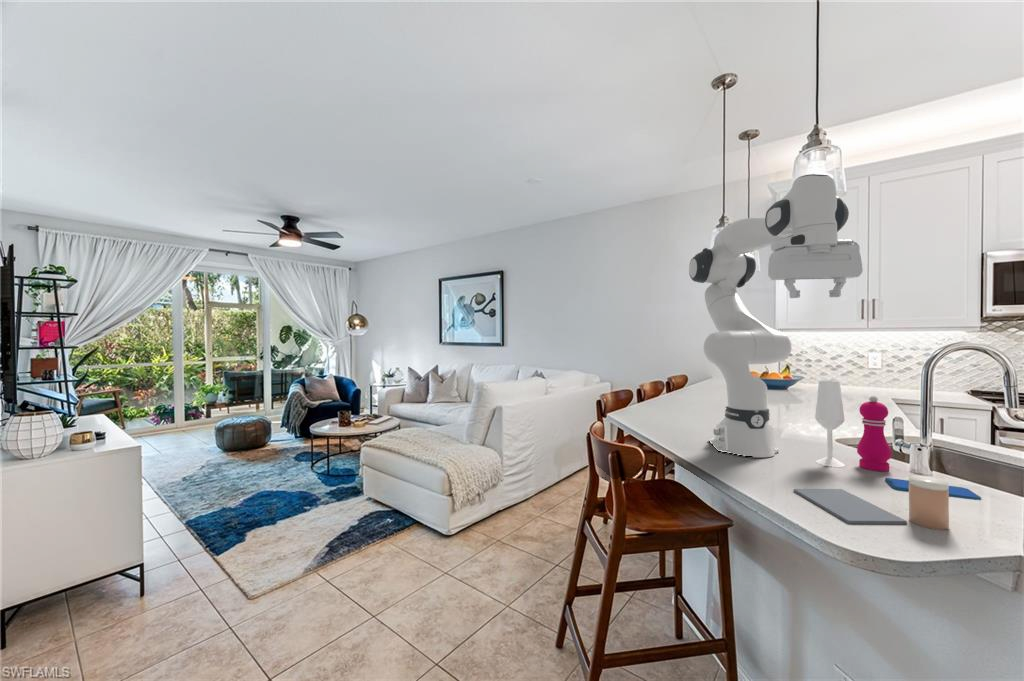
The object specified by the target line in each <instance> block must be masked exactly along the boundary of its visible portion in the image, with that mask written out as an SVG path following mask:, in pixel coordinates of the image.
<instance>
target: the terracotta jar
mask: <svg viewBox="0 0 1024 681" xmlns="http://www.w3.org/2000/svg"><path fill="white" fill-rule="evenodd" d="M908 480H909V491H908V520H909V521H910V522H911V523H913V524H914V525H917V526H919V527H923V528H926V527H928V528H927V529H931V528H933V530H937V529H938V530H937V531H945V530H946V529H947V530H949V529H950V513H949V512H950V505H949V504H950V501H949V500H950V498H949V497H950V496H949V486H950V484H949V482H948V481H946V480H943V479H940V478H937V477H932V476H925V475H909V476H908ZM948 528H949V529H948ZM947 530H946V531H947Z"/></svg>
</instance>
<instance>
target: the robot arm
mask: <svg viewBox="0 0 1024 681" xmlns="http://www.w3.org/2000/svg"><path fill="white" fill-rule="evenodd" d="M849 212H850V211H849V208H848V206H847V204H846V202H845V201H844V200H842V198H841V197H839V196H838V195H837V187H836V182H835V180H834V177H833V175H831V174H829V173H825V172H824V173H812V174H811V173H810V174H809V173H808V174H804V175H801V176H798V177H797V178H795V179H794V181H793V182H792V186H791V188H790V190H789V191H788V192H787V193H786V194H785V195H784V197H782V198H781V199H780V200H777V201H776V202H775V203H773V204H772V205H771V206H770V207H769V208H768V209H767V211H766V213H765V218H764V217H748V218H741V219H738V220H735V221H733V222H731V223H729V224H728V225H726V226H725V227H723V228H722V229H721V230H720V231H719V232H717V234H716V236H715V238H714V240H713V247H712V248H707V247H704V248H703V249H702V250H701V251H700V252H699V253H698V252H697V253H696V254H695V256H693V257H692V258H691V259H690V262H689V265H688V272H689V273H688V274H689V276H690V279H691V281H693V282H694V283H695V282H696V283H699V284H700V283H701V284H705V283H706V284H710V285H709V286H708V287H707V288H706V289H705V291H704V301H705V302H704V303H705V305H706V308H707V309H706V310H707V311H708V314H709V315H710V318H711V320H712V322H713V324H714V326H715V328H716V330H718V331H717V332H713V333H709V335H708V336H706V338H705V340H704V343H703V352H704V355H705V357H706V359H707V360H708V361H709V362H711V364H714V365H715V366H716V367H717V369H718V370H719V371H720V372H721V373H722V376H723V378H724V381H725V384H726V390H727V391H726V392H727V406H725V410H724V418H723V419H722V420H721V421H720V422H719V423H718V424H716V426H715V427H714V428H713V431H712V432H713V435H714V436H715V437H710V438H708V439H709V440H710V441H711V442H712V444H713V445H714V446H715V447H716V448H717V449H718V450H722V451H727V452H731V453H735V454H740V455H745V456H753V457H752V458H770V457H773V456H775V454H777V452H778V453H780V450H779V448H778V447H776V443H775V433H774V427H773V425H772V424H771V423H770V422H769V421H770V409H769V408H768V386H767V384H766V382H765V381H764V380H762V379H761V378H760V377H758V376H755V375H754V374H753V373H752V372H751V370H750V366H749V365H772V364H775V363H781V362H784V361H786V360H787V359H788V358H789V356H790V355H791V352H792V343H791V340H790V338H789V336H788V335H787V334H786V333H785V332H782V331H779V330H777V329H774V328H772V327H770V326H768V325H766V324H764V323H763V322H762V321H760V320H758V319H757V318H756V317H755V316H753V315H752V314H751V313H750V311H749V309H748V308H747V306H746V304H745V303H744V302H743V300H742V299H741V297H740V295H739V293H738V291H737V288H739V289H741V288H742V287H744V286H745V285H746V283H747V282H749V281H750V280H751V279H752V278H753V276H754V275H755V272H756V268H757V263H756V262H757V261H756V259H755V257H754V256H753V254H752V253H751V252H754V251H757V250H759V249H760V250H761V249H763V248H766V247H768V246H770V250H771V251H772V253H771V254H770V255H769V257H768V268H767V271H768V272H767V274H768V277H769V279H770V280H772V281H783V284H784V286H785V288H786V289H787V290H788V292H789V293H788V294H789V298H790V299H797V298H798V299H799V298H800V297H801V290H800V289H799V290H798V289H797V288H796V286H795V284H796V282H797V281H798V280H833V284H835V285H834V287H833V288H832V289H829V291H828V293H829V295H828V296H829V298H840V297H841V296H842V294H841V293H842V289H843V287H844V286H845V284H846V282H847V279H855V278H858V277H860V276H861V275H862V273H863V262H862V257H861V250H860V249H861V248H860V244H858V243H857V242H855V241H854V240H853V239H844V240H843V239H838V233H839V231H840V230H842V228H843V227H844V226H845V224H846V223H847V221H848V219H849V215H850V214H849ZM796 280H797V281H796ZM745 456H744V457H745Z"/></svg>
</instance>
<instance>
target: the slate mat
mask: <svg viewBox="0 0 1024 681" xmlns="http://www.w3.org/2000/svg"><path fill="white" fill-rule="evenodd" d="M793 492H794V493H796V494H798V495H800V497H802V498H804V499H806V500H808V501H809V502H811V503H813V504H814V505H817V506H818V507H819V508H822V509H823V510H825V511H827V512H828V513H829V514H831V515H833V516H835V517H837V518H839V519H840V520H841V521H843V522H845V523H846V524H848V525H852V524H853V525H859V524H860V525H907V524H908V522H907V521H908V520H905V519H903V518H902V517H899V516H897V515H896V514H893V513H891V512H890V511H887V510H886V509H883V508H881V507H879V506H877V505H875V504H873V503H871V502H870V501H867V500H865V499H863V498H861V497H859V496H857V495H854V494H853V493H851V492H848V491H846V489H845V490H844V489H842V488H793Z"/></svg>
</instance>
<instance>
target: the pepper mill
mask: <svg viewBox="0 0 1024 681" xmlns="http://www.w3.org/2000/svg"><path fill="white" fill-rule="evenodd" d="M868 399H869V401H865V402H862V403H861V405H860V406H859V414H860V415H861V416H862V417H863V418H861V420H862V421H861V424H863V434H862V436H861V438H860V440H859V441H858V445H857V447H856V452H857V454H858V455H859V456H860V459H859V462H858V463H859V464H858V465H859V467H861V468H862V469H865V470H868V471H869V470H870V471H875V472H888V471H890V463H889V462H888V461H889V460H890V459H892V456H893V454H892V450H891V447H890V445H889V443H888V441H887V438H886V436H885V430H884V428H885V426H886V425H887V424H886V422H887V420H886V418H887V417H888V416H889V410H888V408H887V406H886V405H885V404H884V403H881V402H879V401H878V400H879V399H878V396H877V397H876V396H875V395H871V396H869V398H868Z"/></svg>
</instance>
